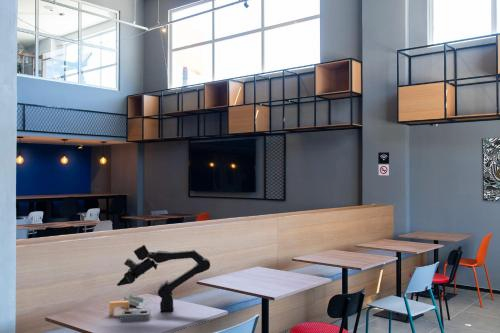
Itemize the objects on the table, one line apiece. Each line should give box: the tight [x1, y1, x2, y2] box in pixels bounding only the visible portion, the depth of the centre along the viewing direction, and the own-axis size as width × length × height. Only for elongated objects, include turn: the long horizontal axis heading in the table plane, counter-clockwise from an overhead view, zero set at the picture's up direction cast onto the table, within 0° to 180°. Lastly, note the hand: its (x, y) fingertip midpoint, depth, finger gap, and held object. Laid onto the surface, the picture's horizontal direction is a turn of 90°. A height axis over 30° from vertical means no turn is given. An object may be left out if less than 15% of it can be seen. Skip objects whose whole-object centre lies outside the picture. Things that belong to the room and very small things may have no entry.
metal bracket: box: [122, 294, 150, 310], centre depth 271 cm, size 14×6×15 cm
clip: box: [108, 300, 130, 316], centre depth 254 cm, size 10×2×6 cm, turn 95°
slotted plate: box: [120, 309, 152, 322], centre depth 246 cm, size 14×8×3 cm, turn 95°
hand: (118, 283), depth 256 cm, fingers open, 9 cm apart
